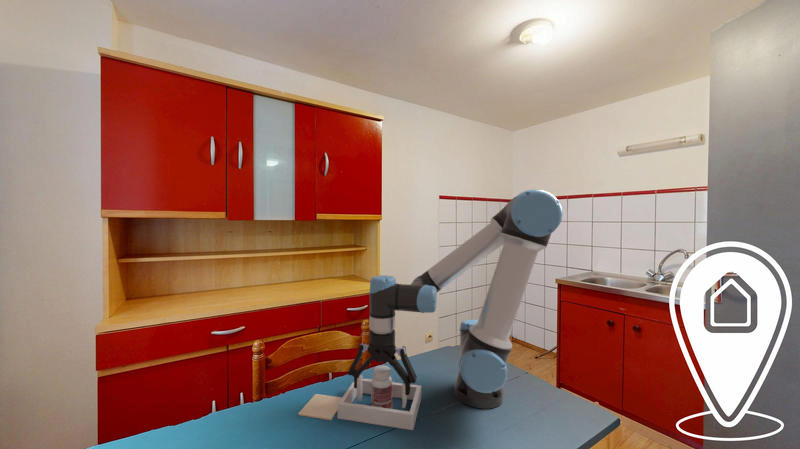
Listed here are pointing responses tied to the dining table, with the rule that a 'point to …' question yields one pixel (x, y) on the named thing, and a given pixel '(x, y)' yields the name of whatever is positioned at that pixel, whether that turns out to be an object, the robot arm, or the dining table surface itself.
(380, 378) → the pill bottle
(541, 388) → the dining table surface
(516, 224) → the robot arm
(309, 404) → the mat
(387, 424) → the bin
